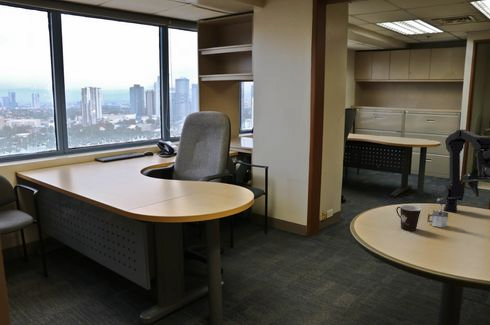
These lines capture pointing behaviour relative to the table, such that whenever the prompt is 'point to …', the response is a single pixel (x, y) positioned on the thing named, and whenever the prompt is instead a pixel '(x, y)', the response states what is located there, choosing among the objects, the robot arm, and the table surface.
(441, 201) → the plunger
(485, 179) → the robot arm
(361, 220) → the table surface
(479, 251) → the table surface
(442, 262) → the table surface
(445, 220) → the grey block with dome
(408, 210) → the coffee mug
